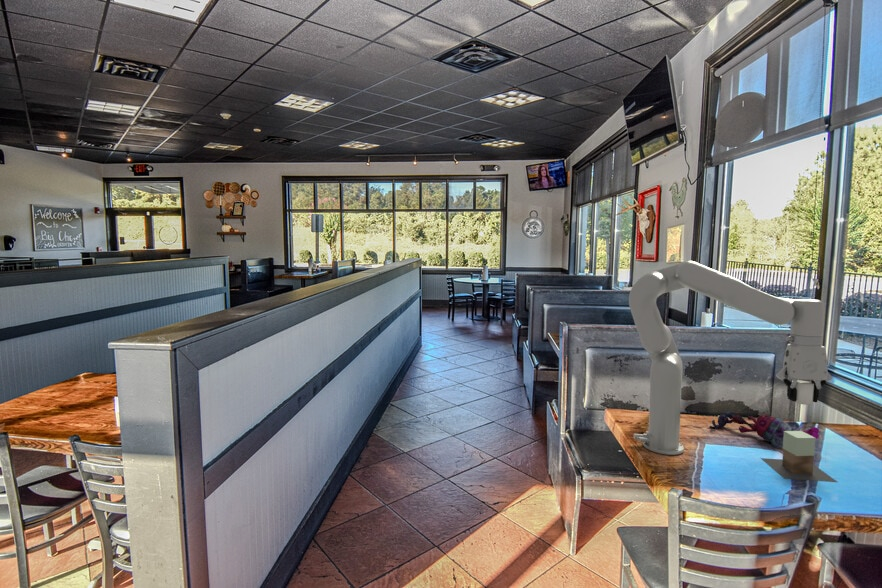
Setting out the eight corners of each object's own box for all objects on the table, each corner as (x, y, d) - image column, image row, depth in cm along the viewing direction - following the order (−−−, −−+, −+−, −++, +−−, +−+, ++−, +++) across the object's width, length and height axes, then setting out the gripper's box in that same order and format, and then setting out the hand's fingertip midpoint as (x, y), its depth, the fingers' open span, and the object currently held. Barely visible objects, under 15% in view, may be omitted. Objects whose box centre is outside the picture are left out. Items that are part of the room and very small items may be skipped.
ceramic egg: (797, 404, 141) (799, 384, 141) (788, 399, 146) (789, 380, 146) (816, 405, 141) (817, 385, 140) (806, 399, 146) (807, 380, 145)
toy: (711, 438, 180) (803, 471, 154) (706, 419, 177) (798, 450, 151) (734, 412, 186) (826, 440, 160) (729, 393, 183) (822, 418, 157)
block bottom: (792, 472, 143) (793, 455, 143) (782, 464, 149) (783, 447, 148) (812, 474, 142) (813, 456, 142) (801, 466, 148) (803, 448, 147)
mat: (784, 479, 140) (784, 478, 140) (760, 459, 153) (760, 458, 153) (837, 483, 137) (838, 482, 137) (808, 462, 151) (808, 461, 151)
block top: (796, 455, 142) (797, 438, 142) (782, 448, 148) (783, 431, 147) (814, 455, 142) (815, 437, 142) (800, 448, 148) (801, 430, 147)
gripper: (781, 342, 140) (777, 403, 141) (846, 343, 137) (842, 405, 138) (767, 338, 147) (764, 395, 149) (829, 339, 144) (826, 398, 146)
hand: (802, 400), depth 143 cm, fingers closed on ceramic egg, 5 cm apart
